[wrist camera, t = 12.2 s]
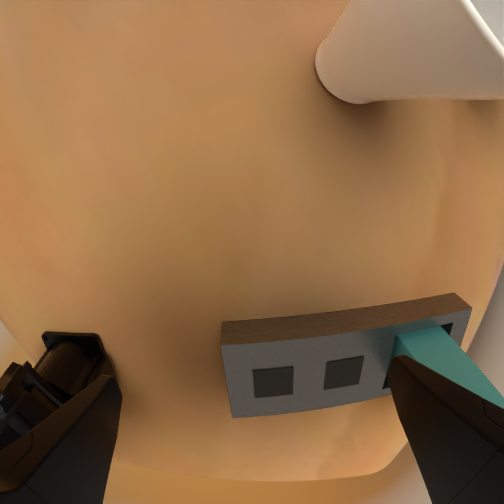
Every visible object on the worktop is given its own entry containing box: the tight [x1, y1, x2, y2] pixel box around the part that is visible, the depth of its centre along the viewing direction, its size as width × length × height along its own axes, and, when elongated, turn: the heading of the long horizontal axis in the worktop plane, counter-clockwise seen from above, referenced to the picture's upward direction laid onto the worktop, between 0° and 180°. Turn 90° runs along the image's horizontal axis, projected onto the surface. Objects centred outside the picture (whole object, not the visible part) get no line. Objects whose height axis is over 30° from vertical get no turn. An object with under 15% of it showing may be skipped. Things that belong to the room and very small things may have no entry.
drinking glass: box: [315, 0, 504, 104], centre depth 10 cm, size 7×7×15 cm
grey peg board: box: [221, 293, 472, 418], centre depth 23 cm, size 21×8×3 cm, turn 94°
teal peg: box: [386, 326, 504, 408], centre depth 19 cm, size 4×4×13 cm
